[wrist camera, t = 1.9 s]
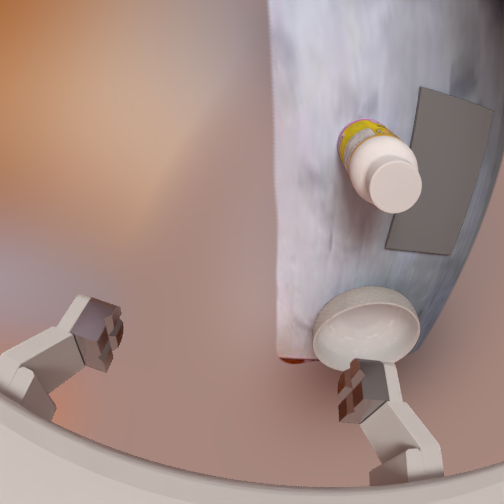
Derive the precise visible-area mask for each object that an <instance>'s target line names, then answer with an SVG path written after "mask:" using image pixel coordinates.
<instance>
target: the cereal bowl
mask: <svg viewBox="0 0 504 504" xmlns="http://www.w3.org/2000/svg"><path fill="white" fill-rule="evenodd" d="M419 334H420V324H419V320H418V316H417V314H416V311H415V309H414V308H413V306H412V304H411V303H410V301H408V300H407V298H405V297H404V296H403V295H402V294H400V293H399V292H397V291H395V290H392V289H389V288H386V287H379V286H365V287H359V288H355V289H352V290H349V291H346V292H344V293H342V294H340V295H338V296H337V297H335V298H334V299H332V300H331V301H330V302H329V303H327V305H326V306H324V308H323V309H322V310H321V312H320V313H319V315H318V317H317V318H316V321H315V325H314V329H313V334H312V346H313V351H314V353H315V355H316V357H317V358H318V359H319V360H320V361H321V362H322V363H323V364H325V365H326V366H328V367H330V368H332V369H335V370H339V371H345V370H347V369H349V368H350V363H351V361H352V360H353V359H355V358H359V359H367V360H377V361H382V362H391V363H394V362H396V361H398V360H400V359H401V358H403V357H404V356H405V355H406V354H407V353H409V352H410V350H411V349H412V348H413V347H414V345H415V344H416V342H417V340H418V337H419Z"/></svg>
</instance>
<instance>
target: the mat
mask: <svg viewBox="0 0 504 504" xmlns="http://www.w3.org/2000/svg"><path fill="white" fill-rule="evenodd" d="M493 112H494V111H492V110H490V109H487V108H485V107H482V106H480V105H477V104H474V103H471V102H469V101H466V100H463V99H460V98H457V97H454V96H451V95H448V94H444V93H441V92H438V91H434V90H431V89H427V88H424V87H420V89H419V96H418V103H417V109H416V115H415V121H414V127H413V132H412V138H411V143H410V149H411V150H412V152H413V153H414V155H415V157H416V160H417V164H418V173H419V174H420V177H421V181H422V189H421V194H420V196H419V198H418V200H417V201H416V203H415V204H414V205H413V206H412V207H411V208H409V209H408V210H406V211H404V212H401V213H394V215H393V219H392V223H391V226H390V230H389V233H388V237H387V240H386V243H385V248H388V249H398V250H408V251H417V252H427V253H437V254H446V255H450V254H451V252H452V250H453V247H454V245H455V242H456V240H457V237H458V235H459V232H460V229H461V227H462V224H463V221H464V218H465V216H466V213H467V210H468V207H469V204H470V201H471V198H472V195H473V192H474V189H475V185H476V182H477V179H478V175H479V172H480V168H481V165H482V161H483V157H484V153H485V149H486V145H487V141H488V137H489V132H490V127H491V123H492V118H493Z"/></svg>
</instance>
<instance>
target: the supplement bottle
mask: <svg viewBox="0 0 504 504" xmlns="http://www.w3.org/2000/svg"><path fill="white" fill-rule="evenodd" d="M337 147H338V153H339V156H340V158H341V161H342V163H343V165H344V167H345V169H346V172H347V174H348V176H349V178H350V181H351V183H352V185H353V187H354V189H355V191H356V192H357V194H358V195H359V196H360V197H361V198H363V199H364V200H365V201H367V202H369V203H371V204H374V205H375V206H376V207H377V208H379V209H380V210H382V211H384V212H386V213H401V212H404V211H406V210H408V209H409V208H411V207H412V206H413V205H414V204H415V203H416V201H417V200H418V198H419V196H420V194H421V189H422V181H421V177H420V174H419V173H418V164H417V160H416V157H415V155H414V153H413V152H412V150H411V149H410V148H409V147H408V146H407V145H406V144H405V143H404V142H403V141H402V140H400V139H399V138H398V137H397V136H396V135H395V134H393V133H392V132H391V131H390V130H389V129H387V128H386V127H385V126H384V125H382V124H381V123H379V122H377V121H375V120H373V119H368V118H361V119H356V120H354V121H351V122H350V123H348V124H347V125H346V126H345V127H344V128H343V129H342V131H341V133H340V135H339V137H338V143H337Z"/></svg>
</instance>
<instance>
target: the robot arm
mask: <svg viewBox="0 0 504 504" xmlns="http://www.w3.org/2000/svg"><path fill="white" fill-rule="evenodd" d="M120 316H121V308H120V307H119V306H116V305H113V304H110V303H107V302H104V301H101V300H98V299H95V298H93V297H90V296H87V295H84V294H79V295H78V296H77V297H76V298H75V300H74V301H73V303H72V304H71V306H70V307H69V309H68V310H67V312H66V313H65V315H64V316H63V318H62V320H61V321H60V323H59V324H58V326H57V327H51V328H49V329H47V330H45V331H43V332H41V333H39V334H37V335H35V336H34V337H32V338H30V339H28V340H26V341H24V342H22V343H20V344H19V345H17V346H15V347H13V348H11V349H9V350H7V351H6V352H4V353H2V355H1V356H0V504H504V462H500V463H497V464H493V465H490V466H487V467H483V468H479V469H476V470H472V471H468V472H464V473H459V474H455V475H450V476H445V477H444V471H443V463H442V457H441V450H440V445H439V444H438V443H437V441H436V440H435V439H434V437H433V436H432V435H431V434H430V432H429V431H428V430H427V428H426V427H425V426H424V424H423V423H422V422H421V421H420V419H419V418H418V417H417V416H416V414H415V413H414V412H413V411H412V409H411V408H410V407H409V406H408V404H407V403H406V402H403V401H402V396H401V390H400V385H399V380H398V375H397V370H396V366H395V364H394V363H391V362H382V361H377V360H367V359H359V358H355V359H353V360H352V361H351V363H350V368H349V369H347V370H345V371H344V372H343V373H342V375H341V376H340V379H339V382H338V396H339V397H340V399H341V400H342V402H341V403H340V404H339V406H338V410H339V422H344V423H345V422H346V423H356V424H360V426H361V428H362V430H363V432H364V433H365V435H366V437H367V439H368V440H369V442H370V444H371V445H372V447H373V449H374V451H375V453H376V454H377V456H378V458H379V460H380V461H381V463H382V464H381V465H380V466H378V467H376V468H374V469H372V470H371V471H370V472H369V475H370V476H369V477H370V486H365V487H364V486H363V487H302V486H300V487H299V486H286V485H273V484H264V483H255V482H248V481H241V480H234V479H228V478H222V477H216V476H211V475H206V474H201V473H197V472H192V471H187V470H184V469H180V468H176V467H172V466H168V465H164V464H161V463H157V462H154V461H150V460H147V459H144V458H140V457H137V456H134V455H131V454H128V453H125V452H122V451H120V450H117V449H114V448H111V447H109V446H106V445H103V444H101V443H98V442H96V441H93V440H91V439H89V438H86V437H84V436H81V435H79V434H77V433H74V432H72V431H70V430H68V429H66V428H63V427H62V426H59V425H57V424H55V423H53V422H51V420H52V418H53V416H54V413H55V411H56V405H55V403H54V402H53V401H52V399H51V398H50V396H49V395H48V394H49V393H50V392H52V391H53V390H54V389H56V388H57V387H58V386H60V385H61V384H62V383H64V382H65V381H67V380H68V379H69V378H71V377H72V376H73V375H75V374H76V373H77V372H79V371H80V370H81V369H83V368H84V367H85V366H88V367H91V368H94V369H97V370H99V371H103V372H105V373H106V372H107V371H108V368H109V366H110V364H111V362H112V360H113V354H112V351H113V350H115V349H116V348H118V347H119V345H120V342H121V339H122V335H123V322H122V321H121V320H120Z"/></svg>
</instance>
